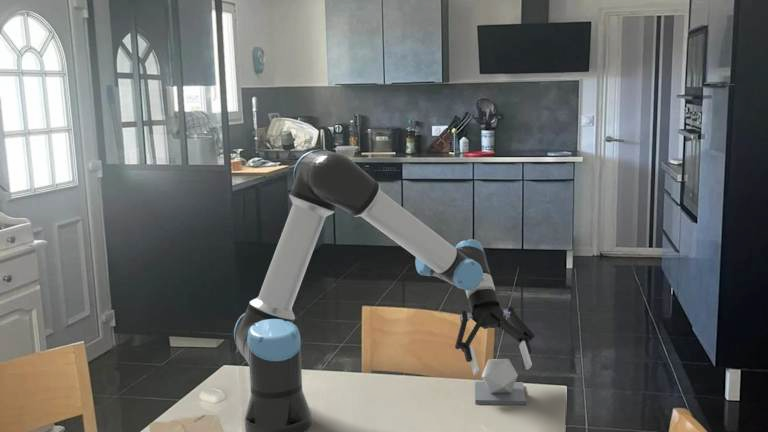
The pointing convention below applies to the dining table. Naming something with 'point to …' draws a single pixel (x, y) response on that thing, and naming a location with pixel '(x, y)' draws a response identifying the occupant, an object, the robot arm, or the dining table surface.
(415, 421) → the dining table surface
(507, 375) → the die
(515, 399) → the slate board
